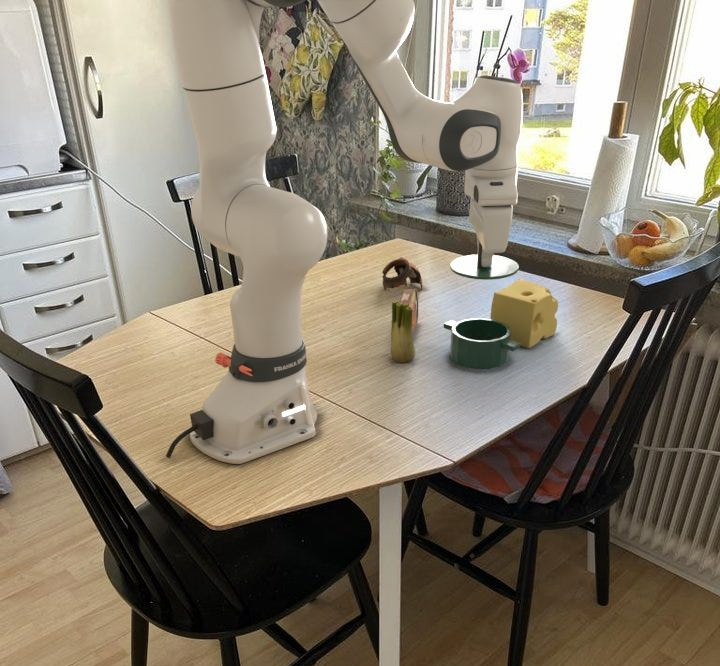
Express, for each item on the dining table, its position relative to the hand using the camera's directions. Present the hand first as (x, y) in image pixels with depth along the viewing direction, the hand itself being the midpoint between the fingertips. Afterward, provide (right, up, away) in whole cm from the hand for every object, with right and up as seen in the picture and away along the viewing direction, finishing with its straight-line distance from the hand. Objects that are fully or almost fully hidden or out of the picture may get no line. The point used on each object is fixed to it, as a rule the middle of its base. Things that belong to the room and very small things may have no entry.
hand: (484, 262), depth 131 cm
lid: (0, -1, +1) cm, 1 cm away
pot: (+1, -16, +12) cm, 20 cm away
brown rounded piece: (-12, +7, +46) cm, 48 cm away
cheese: (+11, -9, +21) cm, 26 cm away
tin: (-13, -8, +23) cm, 28 cm away
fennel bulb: (-14, -16, +13) cm, 25 cm away
